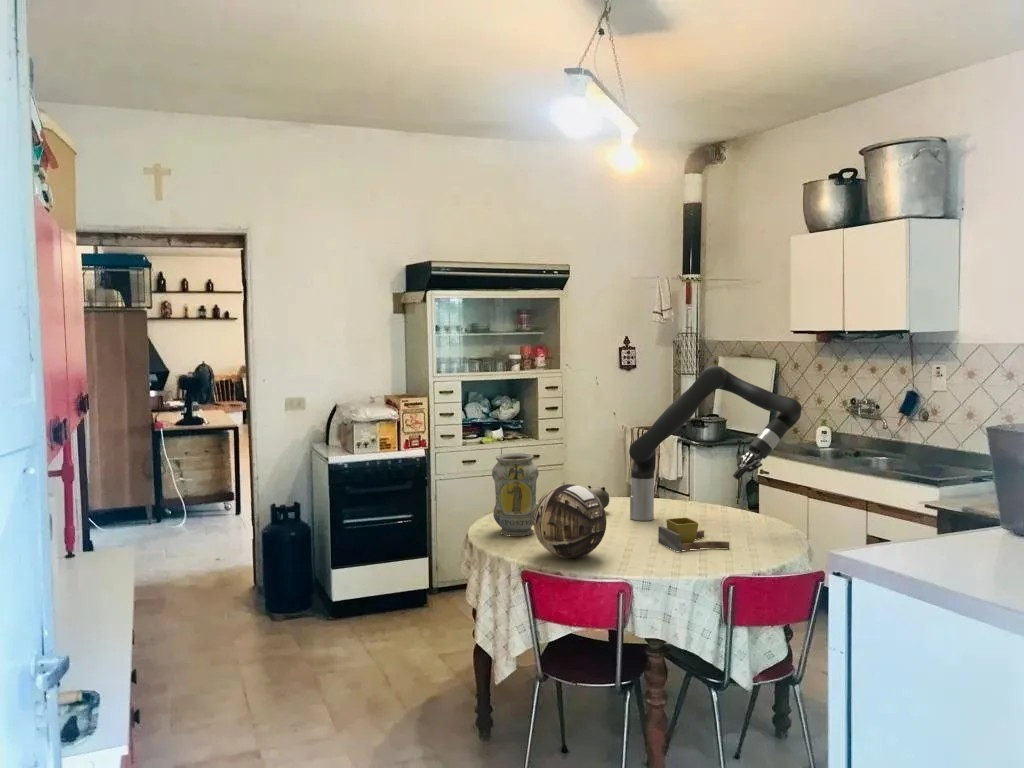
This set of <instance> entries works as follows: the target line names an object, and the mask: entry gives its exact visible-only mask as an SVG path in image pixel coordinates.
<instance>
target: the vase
mask: <svg viewBox="0 0 1024 768" xmlns="http://www.w3.org/2000/svg"><path fill="white" fill-rule="evenodd" d="M495 459H496V461H497V463H495V464H494V466H493V467H492V469H491V476H492V479H493V481H494V488H495V489H494V492H495V505H494V508H493V514H492V515H493V519H494V521H495V522H496V524H497V525H498V526H499V527H500V528H501V529H500V531H499V533H500V534H501V533H502V534H504V535H510V536H521V537H526V536H525V535H528V536H530V534H531V535H533V533H534V530H533V529H532V527H534V523H533V518H534V512H535V509H536V506H537V504H538V503H537V480H538V478H539V475H540V474H539V468H538V466H537V465H536V464H535V463H534V462H533V459H534V454H531V453H524V452H523V453H521V452H515V453H514V452H512V453H503V454H497V455H496V456H495ZM502 534H501V535H502ZM504 535H503V536H504ZM510 536H509V537H510Z"/></svg>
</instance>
